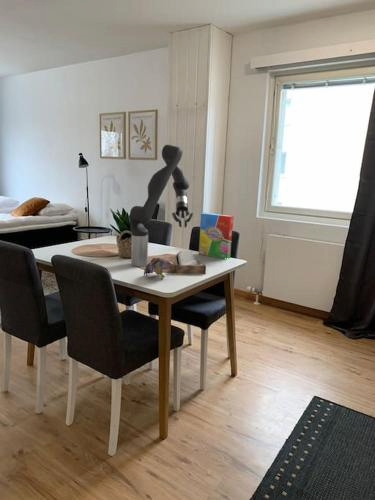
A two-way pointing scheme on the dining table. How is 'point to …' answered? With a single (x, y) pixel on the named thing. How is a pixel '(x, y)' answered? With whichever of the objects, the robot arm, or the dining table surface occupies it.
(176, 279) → the dining table surface
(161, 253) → the dining table surface
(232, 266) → the dining table surface
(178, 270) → the hinge pocket
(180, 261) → the grey rounded block
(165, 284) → the dining table surface
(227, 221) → the game box
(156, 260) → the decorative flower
